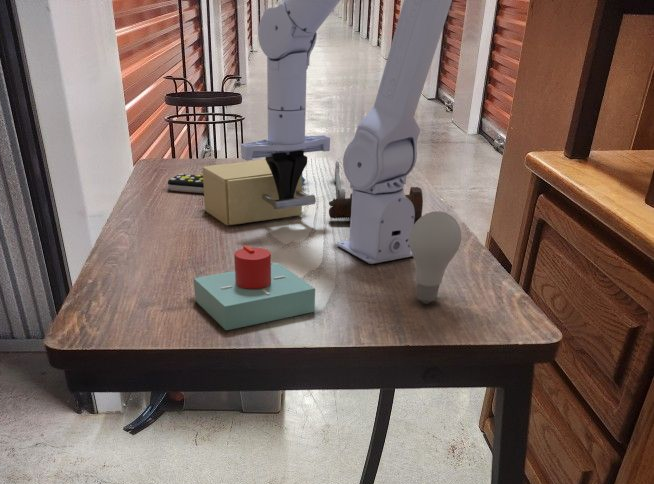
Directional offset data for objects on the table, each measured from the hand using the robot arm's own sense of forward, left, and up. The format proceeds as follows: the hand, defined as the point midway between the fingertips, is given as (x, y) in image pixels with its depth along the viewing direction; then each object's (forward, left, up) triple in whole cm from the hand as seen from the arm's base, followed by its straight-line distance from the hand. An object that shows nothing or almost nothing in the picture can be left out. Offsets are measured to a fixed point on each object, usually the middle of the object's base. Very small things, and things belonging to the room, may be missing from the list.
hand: (285, 203), depth 107 cm
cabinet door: (+1, +2, -3) cm, 4 cm away
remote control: (+27, +4, -4) cm, 28 cm away
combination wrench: (+13, -18, -4) cm, 23 cm away
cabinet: (+9, +2, -3) cm, 10 cm away
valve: (-28, +19, 0) cm, 34 cm away
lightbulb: (-37, -1, -4) cm, 37 cm away
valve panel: (-28, +19, -3) cm, 34 cm away
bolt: (-5, -14, -4) cm, 15 cm away
